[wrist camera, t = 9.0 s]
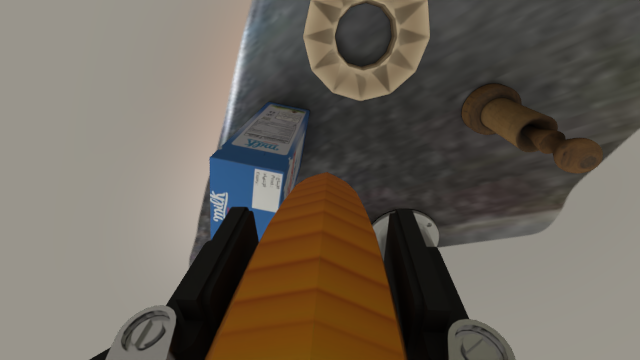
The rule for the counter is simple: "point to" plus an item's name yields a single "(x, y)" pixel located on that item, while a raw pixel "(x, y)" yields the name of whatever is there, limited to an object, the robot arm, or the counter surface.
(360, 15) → the counter surface
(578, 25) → the counter surface
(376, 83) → the faceted beige ring
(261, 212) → the milk carton
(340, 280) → the carrot
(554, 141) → the brown tall rounded piece
